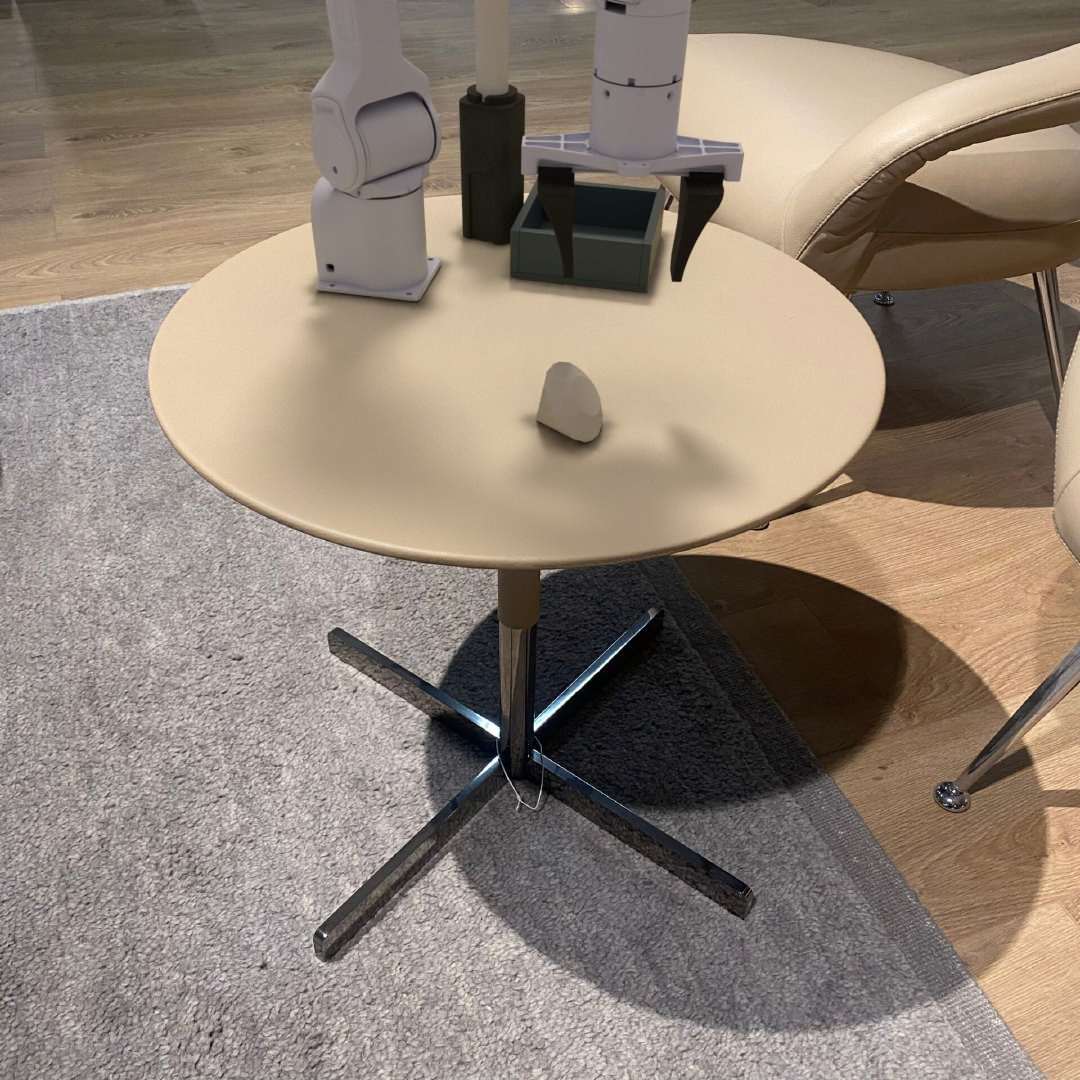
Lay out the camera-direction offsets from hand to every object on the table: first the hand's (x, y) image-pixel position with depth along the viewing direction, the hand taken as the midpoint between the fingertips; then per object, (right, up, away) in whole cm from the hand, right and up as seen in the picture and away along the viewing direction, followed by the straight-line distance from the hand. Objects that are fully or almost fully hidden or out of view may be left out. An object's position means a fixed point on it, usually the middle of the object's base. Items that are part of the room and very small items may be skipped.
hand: (622, 274), depth 73 cm
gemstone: (-4, -11, +2) cm, 12 cm away
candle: (-10, +11, +28) cm, 32 cm away
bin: (-1, +8, +24) cm, 25 cm away
